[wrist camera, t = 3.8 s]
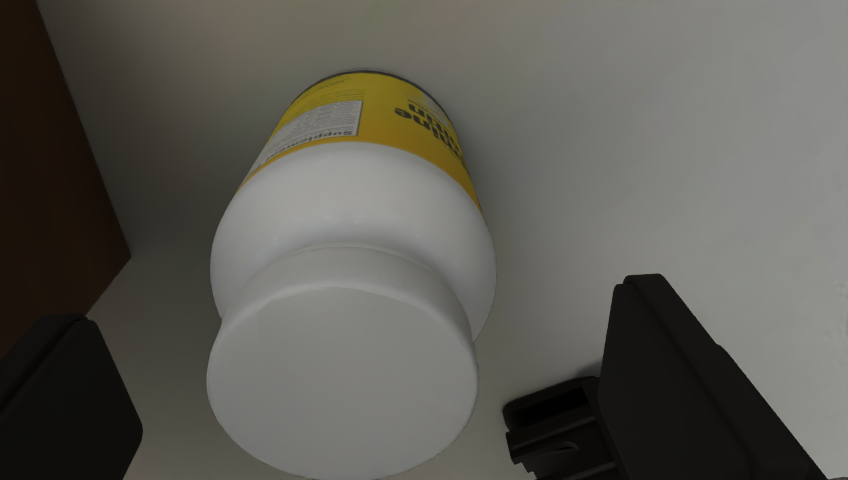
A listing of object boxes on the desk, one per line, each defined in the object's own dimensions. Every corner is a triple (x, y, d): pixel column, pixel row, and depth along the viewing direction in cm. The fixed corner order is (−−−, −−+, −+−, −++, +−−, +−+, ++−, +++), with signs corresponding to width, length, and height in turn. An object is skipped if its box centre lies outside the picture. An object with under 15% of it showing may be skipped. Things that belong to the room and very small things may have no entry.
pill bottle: (459, 228, 21) (525, 501, 11) (293, 240, 21) (205, 528, 11) (456, 56, 18) (546, 216, 8) (259, 69, 18) (86, 250, 7)
